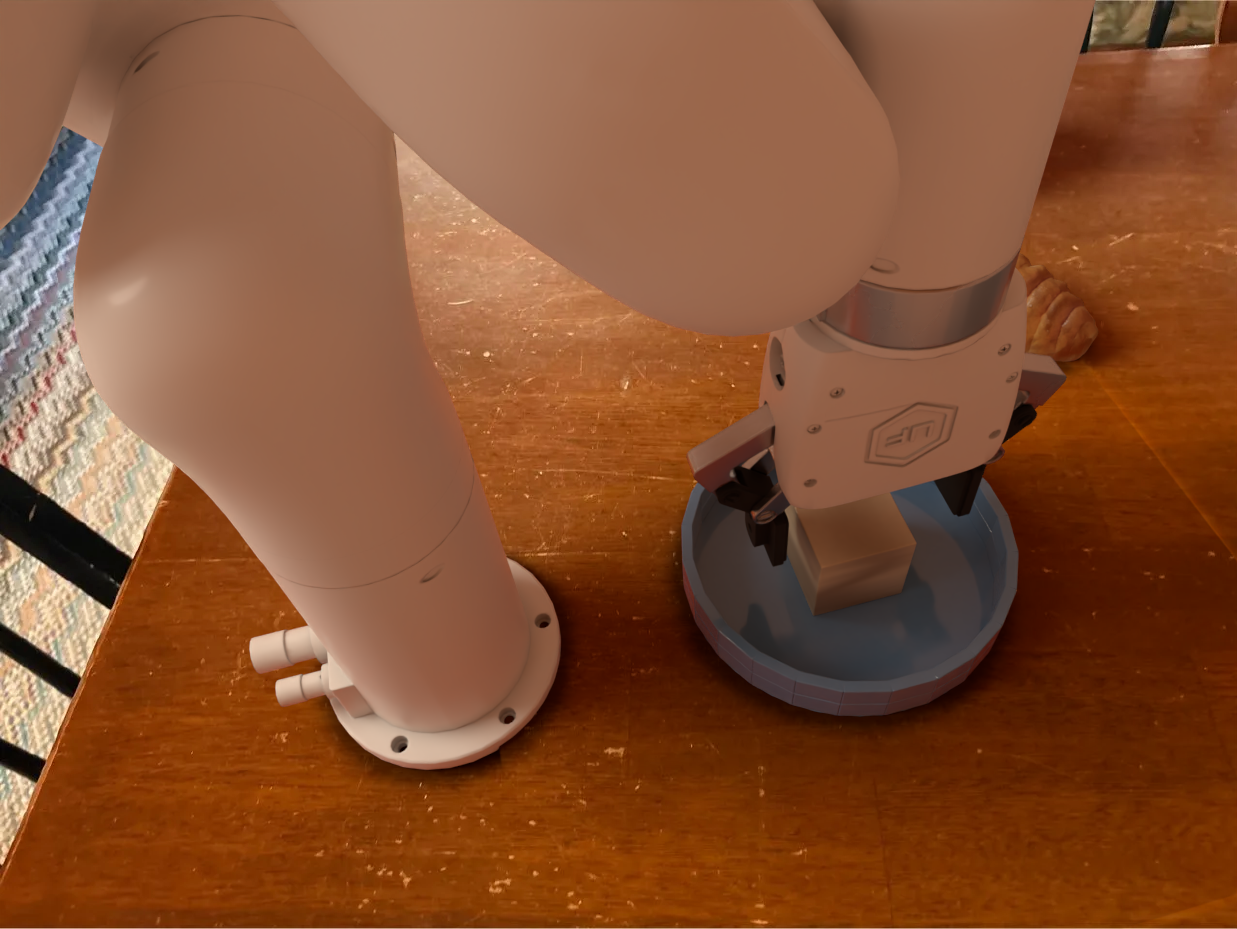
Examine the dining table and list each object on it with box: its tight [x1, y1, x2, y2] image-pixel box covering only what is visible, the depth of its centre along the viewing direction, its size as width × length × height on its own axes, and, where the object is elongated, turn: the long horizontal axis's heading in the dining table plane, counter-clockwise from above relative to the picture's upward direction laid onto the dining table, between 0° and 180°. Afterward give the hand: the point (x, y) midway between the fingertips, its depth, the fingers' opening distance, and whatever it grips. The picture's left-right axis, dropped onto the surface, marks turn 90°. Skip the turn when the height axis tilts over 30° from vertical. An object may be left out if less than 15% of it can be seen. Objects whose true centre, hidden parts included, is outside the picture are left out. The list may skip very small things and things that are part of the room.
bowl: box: [680, 461, 1020, 717], centre depth 51 cm, size 17×17×4 cm
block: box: [785, 492, 916, 616], centre depth 50 cm, size 5×5×5 cm
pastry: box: [1015, 252, 1099, 363], centre depth 61 cm, size 9×7×4 cm
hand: (859, 517), depth 48 cm, fingers open, 9 cm apart
